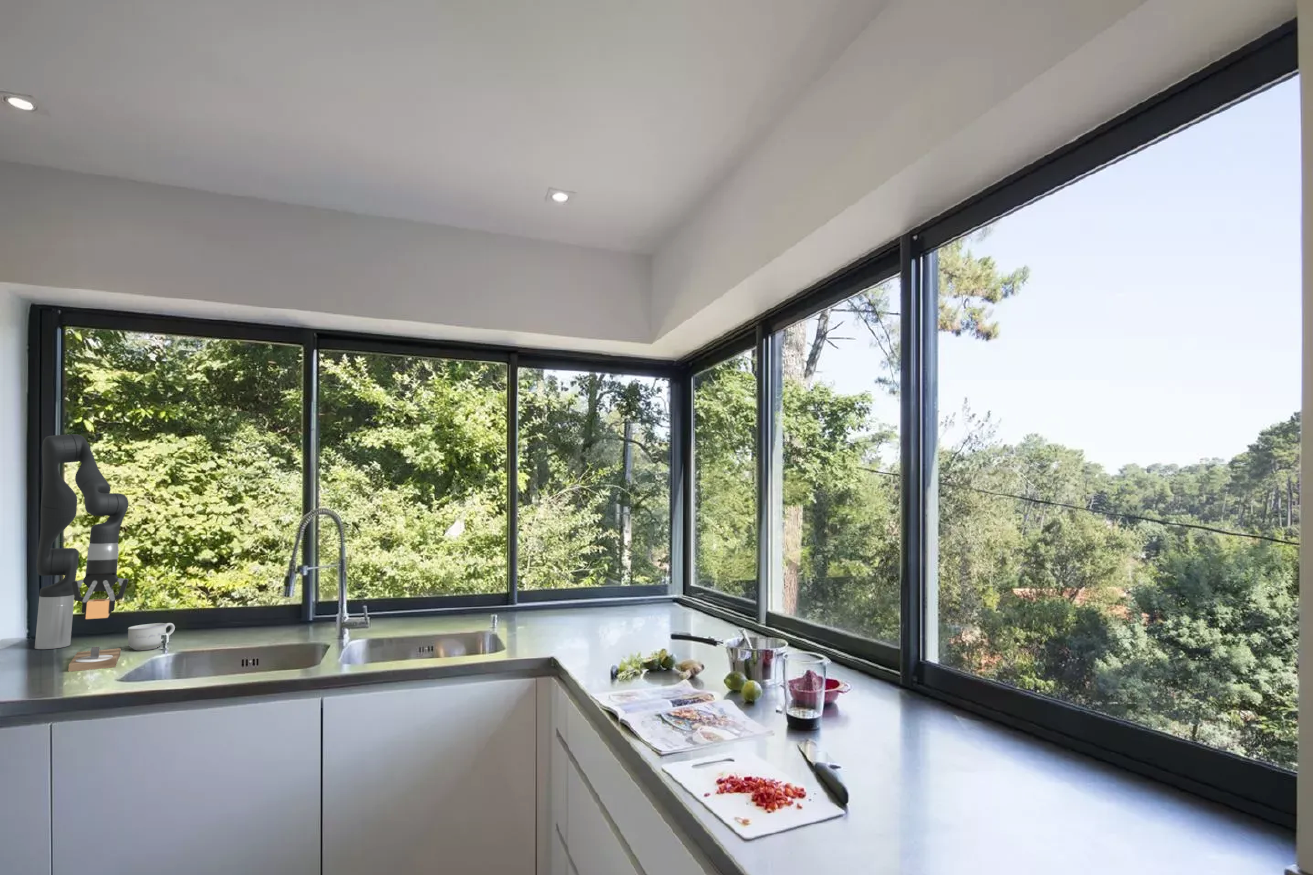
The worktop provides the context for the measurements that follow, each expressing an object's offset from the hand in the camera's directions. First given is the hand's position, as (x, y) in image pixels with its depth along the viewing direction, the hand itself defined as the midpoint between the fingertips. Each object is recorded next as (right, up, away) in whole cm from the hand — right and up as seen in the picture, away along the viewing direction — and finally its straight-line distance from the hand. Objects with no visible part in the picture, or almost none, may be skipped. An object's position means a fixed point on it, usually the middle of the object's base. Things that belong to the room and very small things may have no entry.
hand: (98, 613), depth 215 cm
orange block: (0, -1, 0) cm, 1 cm away
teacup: (-1, -18, +24) cm, 30 cm away
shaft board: (-3, -16, +3) cm, 16 cm away
